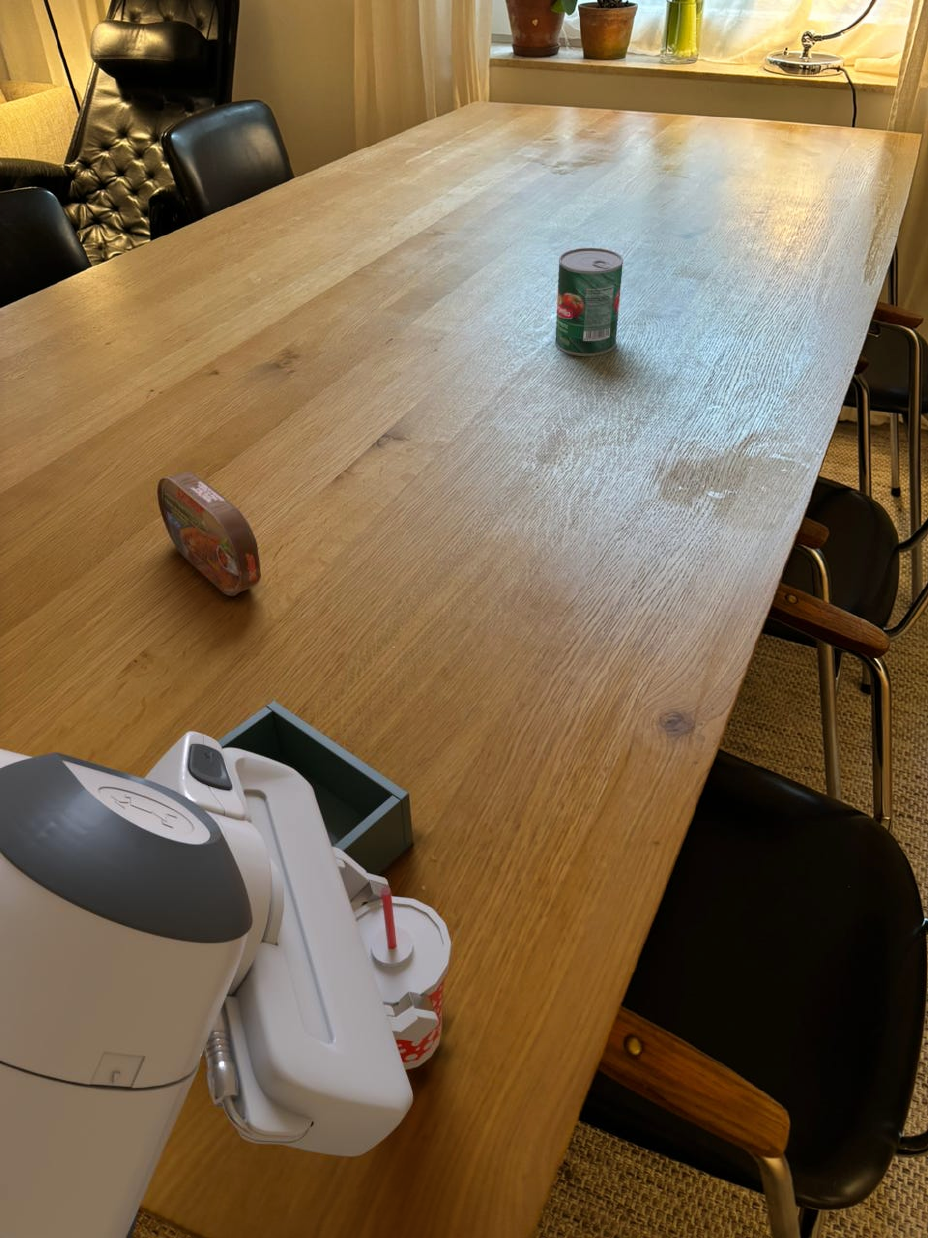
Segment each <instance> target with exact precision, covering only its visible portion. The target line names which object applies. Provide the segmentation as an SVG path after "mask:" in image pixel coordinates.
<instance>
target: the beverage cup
mask: <svg viewBox="0 0 928 1238" xmlns="http://www.w3.org/2000/svg"><path fill="white" fill-rule="evenodd" d="M389 887H390V886H389ZM389 887H384V888H382V890H381V894H382V899H379V900H376V901H373V902H368V903H367V904H365V905H364V906H362V907H361V908H359V909H358V910H356V911H354V912H353V913H354V916H355V919H356V922H357V925H358V928H359V931H360V934H361V937H362V940H363V943H364V946H365V949H366V953H367V956H368V959H369V962H370V965H371V968H372V971H373V974H374V977H375V980H376V983H377V986H378V989H379V992H380V995H381V998H382V1001H383V1004H384V1005H389V1006H391V1007H392V1006H394V1005H398V1004H399V1001H400V999H401V998H402V997H403V996H404V995H405V994H406V993H407V992H408V991H409V992H415V993H418V994H420V995H421V996H423V995H424V994H426V995H428V996H429V997H430V1000H431V1003H432V1005H433V1008H434V1011H435V1013H436V1015H437V1017H438V1020H439V1025H438V1026H437V1027H436V1028H435V1029H434V1030H433V1031H432V1032H430V1033H429V1034H428V1035H427V1036H426V1037H425V1038H423V1039H421V1040H419V1041H408V1040H400V1039H397V1040H396V1044H397V1047H398V1050H399V1053H400V1056H401V1059H402V1062H403V1065H404V1068H405V1071H407V1070H411V1069H414V1068H417V1067H419V1066H422V1064H423V1063H425V1062H426V1061H428V1060H429V1059H430V1058H432V1056H433V1055H434V1053H435V1051H436V1049H437V1048H438V1047H439V1044H440V1042H441V1041H440V1040H441V1035H442V1029H443V1028H442V1026H443V1010H444V995H445V981H446V979H445V978H446V976H447V975H448V972H449V967H450V962H451V961H450V960H451V956H452V955H451V953H452V941H451V938H450V937H451V936H450V934H449V931H448V927H447V924H446V922H445V921H444V920H443V918H441V916H440V915H439V914H438V913H437V912H436V910H435V909H434V908H433V907H431V906H429V905H427V904H425V903H423V902H421V901H420V900H417V899H415V898H412V897H411V898H410V897H403V896H402V897H401V896H393V895H392V896H391V893H392V890H391V888H389Z"/></svg>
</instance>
